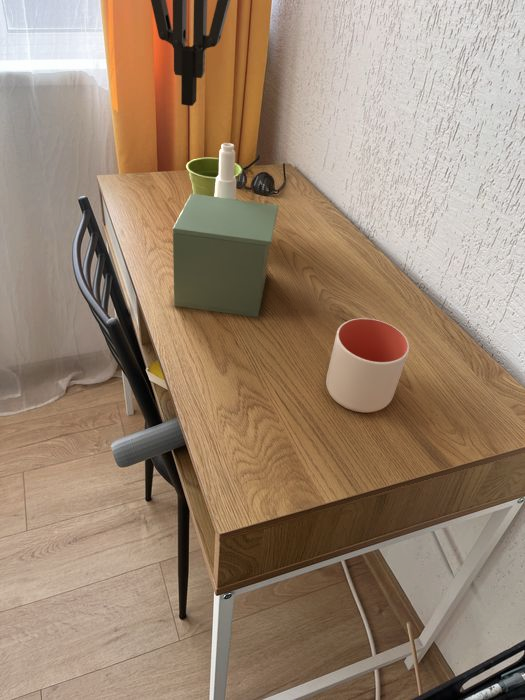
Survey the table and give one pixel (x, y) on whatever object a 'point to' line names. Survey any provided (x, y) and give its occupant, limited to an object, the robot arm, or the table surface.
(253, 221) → the lid
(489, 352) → the table surface
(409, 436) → the table surface
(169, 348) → the table surface
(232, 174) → the cosmetic bottle
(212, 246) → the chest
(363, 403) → the cup
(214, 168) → the plant pot
